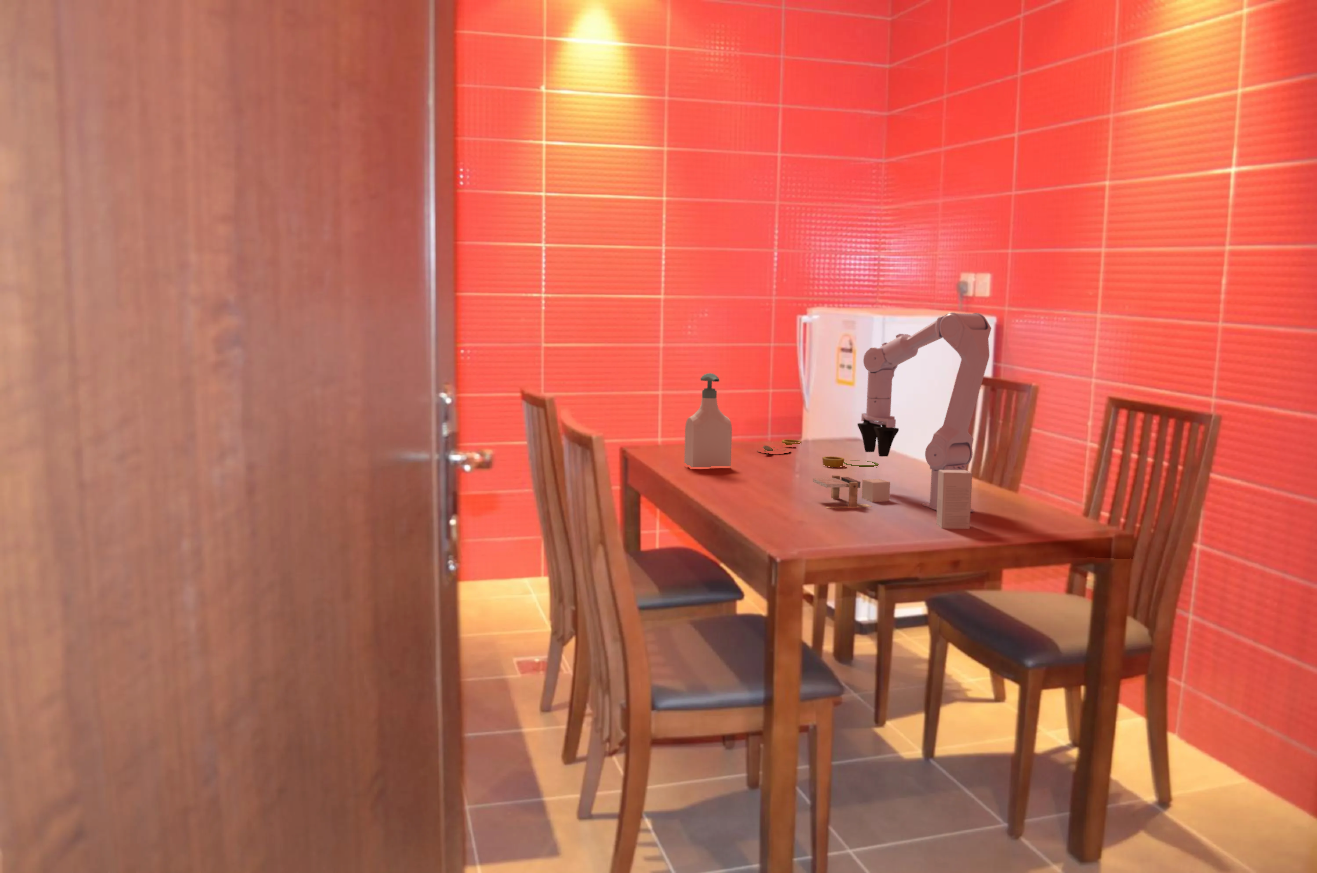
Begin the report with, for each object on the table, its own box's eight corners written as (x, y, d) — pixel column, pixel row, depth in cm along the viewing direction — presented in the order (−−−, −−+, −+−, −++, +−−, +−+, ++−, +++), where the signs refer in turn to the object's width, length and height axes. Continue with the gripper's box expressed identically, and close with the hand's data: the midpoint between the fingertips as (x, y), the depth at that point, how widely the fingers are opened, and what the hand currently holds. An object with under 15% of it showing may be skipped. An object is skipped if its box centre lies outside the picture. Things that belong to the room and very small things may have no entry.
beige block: (889, 505, 245) (890, 482, 245) (871, 506, 244) (873, 482, 243) (878, 501, 250) (879, 478, 249) (861, 502, 248) (862, 479, 247)
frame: (851, 501, 249) (852, 474, 248) (872, 510, 238) (873, 482, 238) (807, 502, 246) (808, 475, 246) (826, 511, 236) (828, 483, 235)
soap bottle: (695, 478, 279) (697, 374, 275) (684, 473, 286) (686, 372, 283) (733, 476, 282) (736, 374, 279) (721, 472, 290) (724, 372, 287)
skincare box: (963, 525, 223) (966, 469, 222) (970, 529, 219) (973, 472, 217) (934, 525, 223) (937, 469, 221) (940, 529, 218) (944, 472, 217)
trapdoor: (846, 482, 246) (846, 476, 246) (861, 488, 239) (861, 482, 239) (812, 483, 244) (813, 477, 244) (826, 489, 237) (826, 482, 236)
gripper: (908, 400, 247) (905, 458, 249) (880, 395, 261) (878, 449, 263) (880, 400, 246) (878, 458, 247) (854, 395, 260) (852, 450, 261)
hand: (876, 454), depth 255 cm, fingers open, 7 cm apart
